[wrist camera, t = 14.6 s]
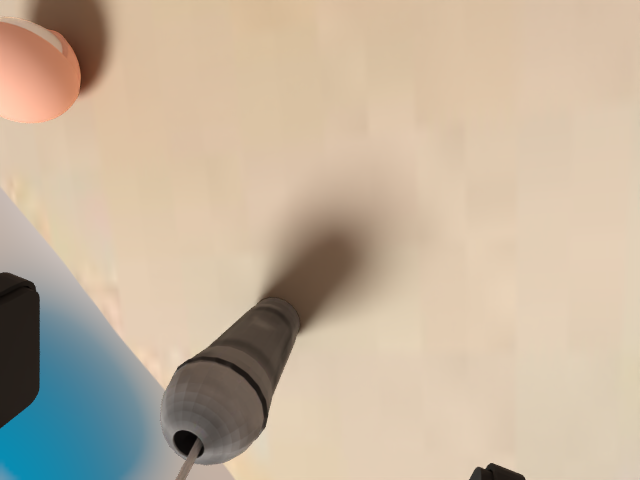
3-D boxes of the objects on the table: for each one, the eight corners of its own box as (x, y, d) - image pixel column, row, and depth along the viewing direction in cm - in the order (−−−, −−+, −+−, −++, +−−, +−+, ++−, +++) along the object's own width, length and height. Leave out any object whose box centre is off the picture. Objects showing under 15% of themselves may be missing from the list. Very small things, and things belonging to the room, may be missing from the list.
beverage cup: (286, 270, 41) (150, 436, 23) (330, 339, 42) (233, 548, 24) (224, 301, 44) (58, 470, 25) (266, 365, 45) (137, 569, 27)
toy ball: (83, 7, 38) (-6, -6, 30) (116, 106, 40) (41, 116, 33) (9, 34, 40) (-88, 28, 33) (44, 126, 42) (-40, 138, 35)
